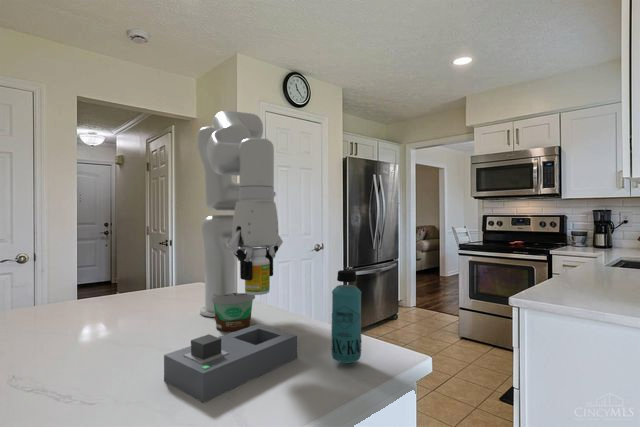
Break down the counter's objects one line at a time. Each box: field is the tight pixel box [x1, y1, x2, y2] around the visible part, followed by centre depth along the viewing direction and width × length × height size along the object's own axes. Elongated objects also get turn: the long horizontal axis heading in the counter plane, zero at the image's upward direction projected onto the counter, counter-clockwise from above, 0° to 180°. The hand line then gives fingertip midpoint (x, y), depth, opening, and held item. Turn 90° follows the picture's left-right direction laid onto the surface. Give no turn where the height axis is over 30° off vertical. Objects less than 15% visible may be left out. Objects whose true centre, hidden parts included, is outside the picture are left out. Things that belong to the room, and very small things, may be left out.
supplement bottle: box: [244, 247, 271, 296], centre depth 79 cm, size 5×5×10 cm
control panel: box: [163, 323, 298, 404], centre depth 74 cm, size 24×13×8 cm, turn 142°
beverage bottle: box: [330, 269, 363, 364], centre depth 76 cm, size 6×7×20 cm
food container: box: [211, 292, 256, 333], centre depth 99 cm, size 12×6×10 cm, turn 117°
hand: (257, 276), depth 79 cm, fingers closed on supplement bottle, 5 cm apart
